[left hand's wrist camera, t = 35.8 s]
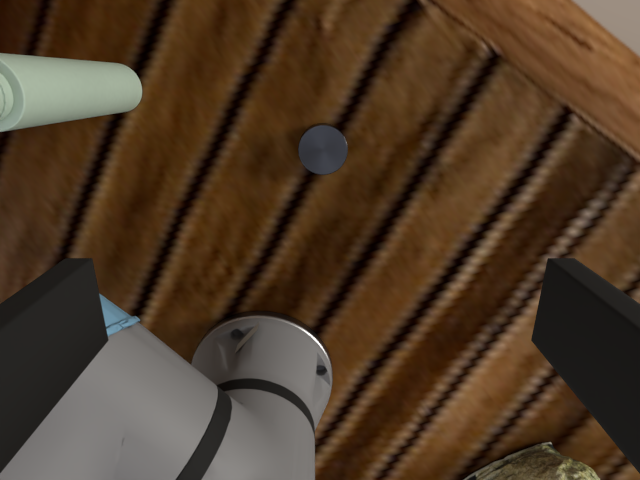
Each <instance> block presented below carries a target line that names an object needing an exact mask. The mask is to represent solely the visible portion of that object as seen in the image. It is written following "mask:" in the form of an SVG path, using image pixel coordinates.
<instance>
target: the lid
mask: <svg viewBox="0 0 640 480" xmlns="http://www.w3.org/2000/svg"><path fill="white" fill-rule="evenodd" d="M298 152H299V157H300V160H301V162H302V164H303V165H304V166H305V167H306V168H307V169H308V170H309V171H311V172H313V173H315V174H320V175H326V174H331V173H333V172H335V171H337V170H338V169H339V168H340V167H341V166H342V165H343V164H344V162H345V160H346V157H347V152H348V147H347V142H346V140H345V137H344V135H343V134H342V132H341V131H340V130H339V129H338V128H337V127H335V126H333V125H331V124H327V123H319V124H315V125H313V126H311V127H309V128H308V129H307V130H306V131H305V132H304V133H303V135H302V137H301V139H300V142H299V148H298Z"/></svg>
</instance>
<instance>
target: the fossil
mask: <svg viewBox="0 0 640 480" xmlns="http://www.w3.org/2000/svg"><path fill="white" fill-rule="evenodd" d="M464 480H600V479H599V477H598V476H597V475H596V474H595V472H594V470H593V469H592V468H590V467H589V466H587V465H585V464H584V463H581V462H579V461H576V460H573V459H572V458H570V457H567V456H562V455H560V454H559V452H558V451H556V450H555V449H554V447H553V445H552V443H551V442H547V443H542V444H537V445H535V446H533V447H530V448H527V449H524V450H522V451H519V452H517V453H514V454H511V455H508V456H507V457H505V458H504V459H502V460H498V461H495V462H493V463H491V464H489V465H487V466H485V467H484V468H482V469H480V470H478V471H476V472H474V473H473V474H471V475H470V476H468V477H467V478H465V479H464Z"/></svg>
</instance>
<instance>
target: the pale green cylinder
mask: <svg viewBox="0 0 640 480" xmlns="http://www.w3.org/2000/svg"><path fill="white" fill-rule="evenodd" d="M141 97H142V86H141V82H140V80H139V78H138V76H137V75H136V73H135V72H134V71H133V70H132V69H130V68H129V67H127V66H125V65H123V64H119V63H109V62H97V61H86V60H74V59H62V58H51V57H39V56H27V55H16V54H4V53H0V132H3V131H9V130H15V129H21V128H28V127H34V126H40V125H46V124H53V123H59V122H65V121H71V120H78V119H84V118H90V117H96V116H102V115H109V114H115V113H121V112H127V111H130V110H132V109H134V108H135V107H136V106H137V105H138V104H139V102H140V100H141Z"/></svg>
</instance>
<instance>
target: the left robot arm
mask: <svg viewBox="0 0 640 480" xmlns="http://www.w3.org/2000/svg"><path fill="white" fill-rule="evenodd" d="M139 321H140V319H139V318H138V317H136V316H130V315H129V314H127V313H126V312H124V311H123V310H122V309H120V308H119V307H117V306H116V305H115V304H113V303H112V302H110V301H109V300H108V299H106V298H105V297H104V296H102V295H101V294H99V290H98V285H97V280H96V275H95V270H94V265H93V260H92V258H65V259H64V260H63V261H61V262H60V263H58V264H57V265H55V266H54V267H53V268H51V269H50V270H48V271H47V272H45V273H44V274H43V275H41V276H40V277H38V278H37V279H35V280H34V281H33V282H31V283H30V284H28V285H27V286H25V287H24V288H22V289H21V290H20V291H18V292H17V293H15V294H14V295H12V296H11V297H10V298H8V299H7V300H5V301H4V302H2V303H1V304H0V480H315V429H316V427H317V425H318V423H319V421H320V418H321V416H322V414H323V412H324V410H325V407H326V405H327V403H328V400H329V397H330V393H331V388H332V363H331V359H330V355H329V353H328V350H327V348H326V346H325V345H324V343H323V342H322V340H321V339H320V338H319V336H318V335H317V334H316V333H315V332H314V331H313V330H312V329H310V328H309V327H308V326H306V325H305V324H303V323H302V322H300V321H298V320H296V319H294V318H292V317H289V316H287V315H283V314H280V313H275V312H268V311H251V312H244V313H240V314H237V315H234V316H231V317H229V318H226V319H224V320H223V321H221V322H219V323H218V324H216V325H215V326H214V327H212V328H211V329H210V330H209V331H208V332H207V333H206V334H205V336H204V337H203V339H202V340H201V342H200V344H199V345H198V348H197V350H196V352H195V354H194V357H193V360H192V364H191V365H190V364H189V363H188V362H187V361H185V360H184V359H183V358H182V357H181V356H179V355H178V354H177V353H176V352H174V351H173V350H172V349H171V348H169V347H168V346H167V345H166V344H165V343H163V342H162V341H161V340H160V339H158V338H157V337H156V336H155V335H154V334H152V333H151V332H150V331H149V330H147V329H146V328H145V327H144V326H142V325H141V324H140V323H139ZM532 342H533V343H534V344H535V345H536V347H537V348H538V349H539V350H540V352H541V353H542V354H543V355H544V356H545V358H546V359H547V360H548V361H549V363H550V364H551V365H552V366H553V368H554V369H555V370H556V371H557V372H558V374H559V375H560V376H561V377H562V379H563V380H564V381H565V382H566V383H567V385H568V386H569V387H570V388H571V390H572V391H573V392H574V393H575V395H576V396H577V397H578V398H579V399H580V401H581V402H582V403H583V404H584V406H585V407H586V408H587V409H588V411H589V412H590V413H591V414H592V415H593V417H594V418H595V419H596V420H597V422H598V423H599V424H600V425H601V426H602V428H603V429H604V430H605V431H606V433H607V434H608V435H609V436H610V438H611V439H612V440H613V441H614V442H615V444H616V445H617V446H618V447H619V449H620V450H621V451H622V452H623V454H624V455H625V456H626V457H627V458H628V460H629V461H630V462H631V463H632V465H633V466H634V467H635V468H636V469H637V471H638V472H639V473H640V304H639V303H638V302H636V301H635V300H633V299H632V298H630V297H629V296H628V295H626V294H625V293H623V292H622V291H620V290H619V289H617V288H616V287H615V286H613V285H612V284H610V283H609V282H607V281H606V280H605V279H603V278H602V277H600V276H599V275H597V274H596V273H595V272H593V271H592V270H590V269H589V268H587V267H586V266H585V265H583V264H582V263H580V262H579V261H577V260H576V259H575V258H548V260H547V265H546V270H545V275H544V280H543V285H542V290H541V295H540V300H539V305H538V310H537V315H536V320H535V325H534V330H533V335H532Z"/></svg>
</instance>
